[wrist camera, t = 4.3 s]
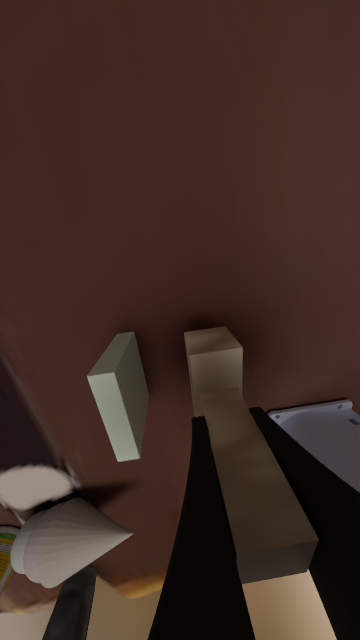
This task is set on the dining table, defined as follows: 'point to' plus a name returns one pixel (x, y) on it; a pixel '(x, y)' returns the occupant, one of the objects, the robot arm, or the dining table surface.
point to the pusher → (246, 465)
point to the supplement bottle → (6, 554)
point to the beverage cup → (73, 607)
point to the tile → (121, 395)
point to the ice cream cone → (64, 541)
